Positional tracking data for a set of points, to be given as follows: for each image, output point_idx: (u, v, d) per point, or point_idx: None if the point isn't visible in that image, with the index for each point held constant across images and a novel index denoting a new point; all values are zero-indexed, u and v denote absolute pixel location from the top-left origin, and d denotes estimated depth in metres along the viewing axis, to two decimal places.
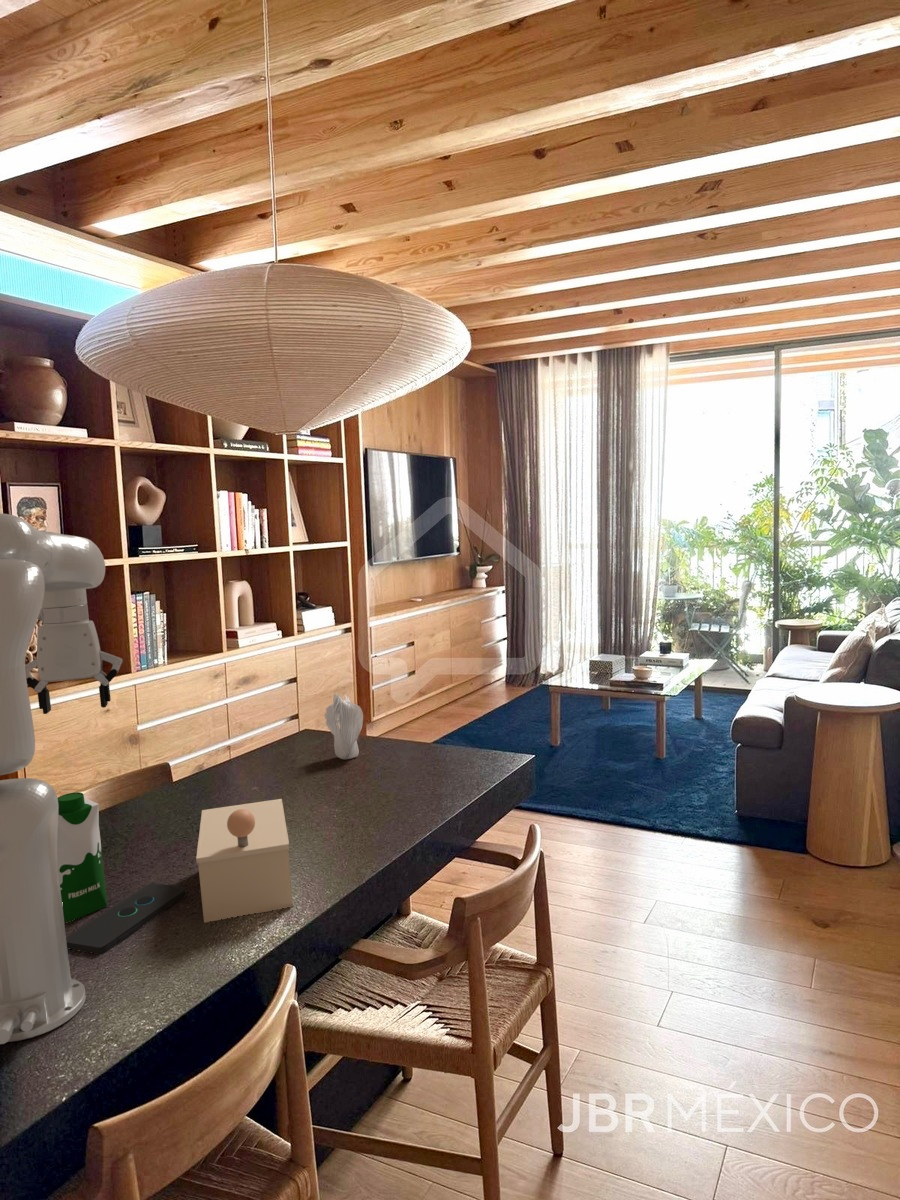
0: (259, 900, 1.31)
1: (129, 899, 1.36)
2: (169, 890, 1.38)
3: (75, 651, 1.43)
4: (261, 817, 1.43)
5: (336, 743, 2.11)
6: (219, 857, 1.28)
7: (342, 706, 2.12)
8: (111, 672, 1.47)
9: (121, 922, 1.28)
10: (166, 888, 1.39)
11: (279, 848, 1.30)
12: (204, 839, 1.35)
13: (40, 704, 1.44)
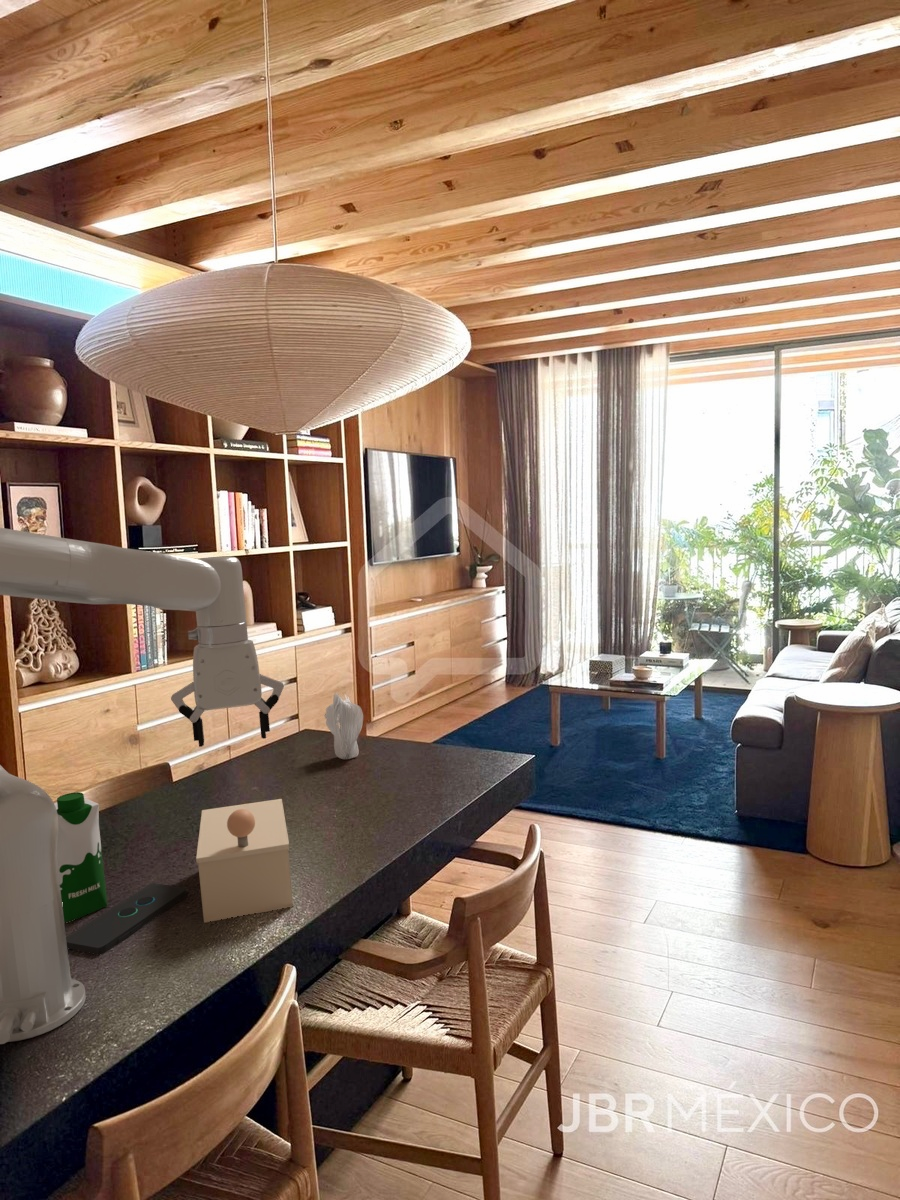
0: (259, 900, 1.31)
1: (130, 899, 1.36)
2: (170, 890, 1.38)
3: (235, 675, 1.26)
4: (261, 817, 1.43)
5: (336, 743, 2.11)
6: (219, 857, 1.28)
7: (342, 706, 2.12)
8: (272, 698, 1.30)
9: (121, 923, 1.28)
10: (167, 888, 1.39)
11: (279, 848, 1.30)
12: (204, 839, 1.35)
13: (195, 735, 1.27)
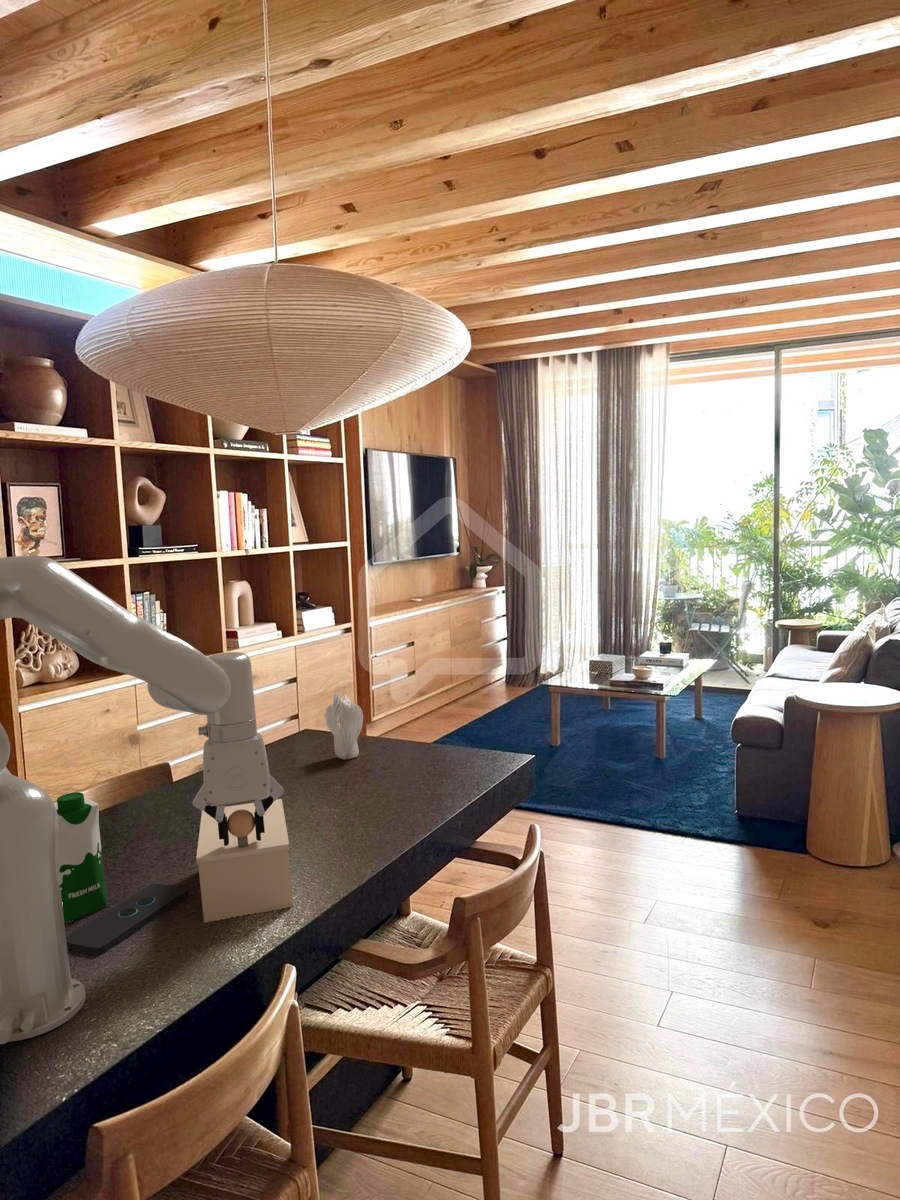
0: (259, 900, 1.31)
1: (130, 899, 1.36)
2: (170, 891, 1.38)
3: (245, 771, 1.27)
4: None
5: (336, 743, 2.11)
6: (219, 857, 1.28)
7: (342, 706, 2.12)
8: (267, 800, 1.31)
9: (120, 923, 1.28)
10: (167, 889, 1.39)
11: (279, 848, 1.30)
12: (204, 839, 1.35)
13: (220, 834, 1.29)
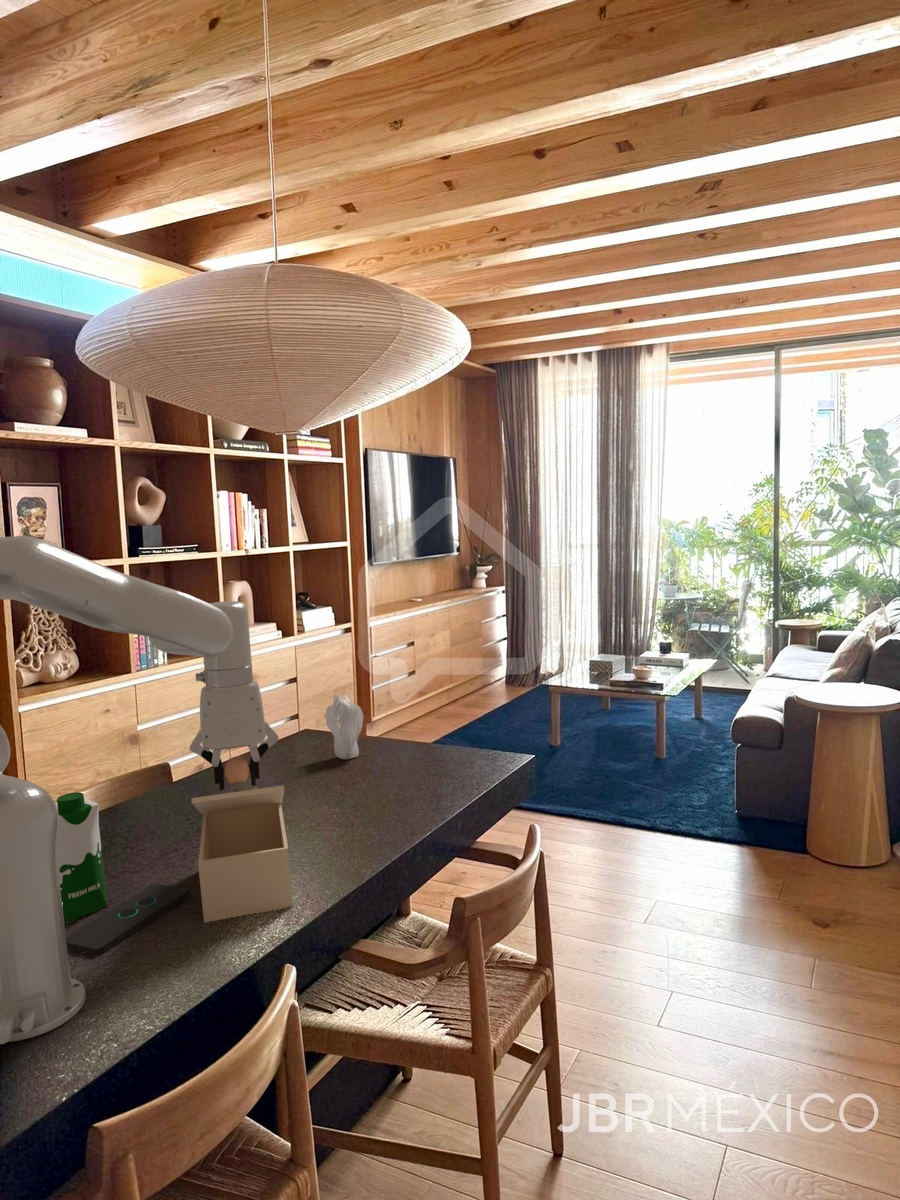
0: (259, 900, 1.31)
1: (131, 900, 1.36)
2: (171, 891, 1.38)
3: (241, 716, 1.30)
4: None
5: (336, 743, 2.11)
6: (214, 797, 1.29)
7: (342, 706, 2.12)
8: (262, 747, 1.34)
9: (120, 923, 1.28)
10: (168, 889, 1.39)
11: (274, 789, 1.31)
12: None
13: (216, 779, 1.32)
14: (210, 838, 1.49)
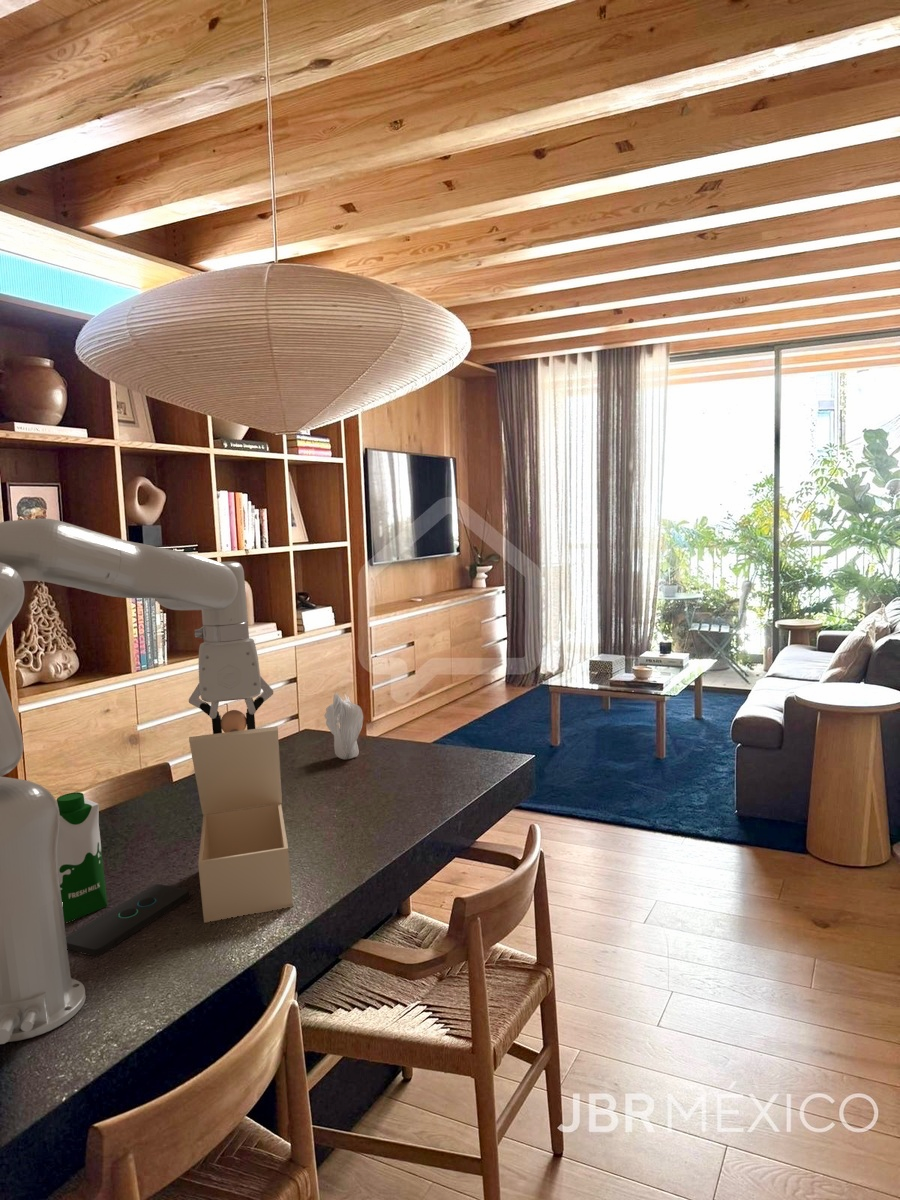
0: (259, 900, 1.31)
1: (132, 900, 1.36)
2: (172, 892, 1.38)
3: (237, 670, 1.37)
4: None
5: (336, 743, 2.11)
6: (211, 736, 1.35)
7: (342, 706, 2.12)
8: (258, 700, 1.41)
9: (120, 924, 1.27)
10: (169, 890, 1.39)
11: (268, 729, 1.37)
12: None
13: (214, 730, 1.39)
14: (210, 838, 1.49)
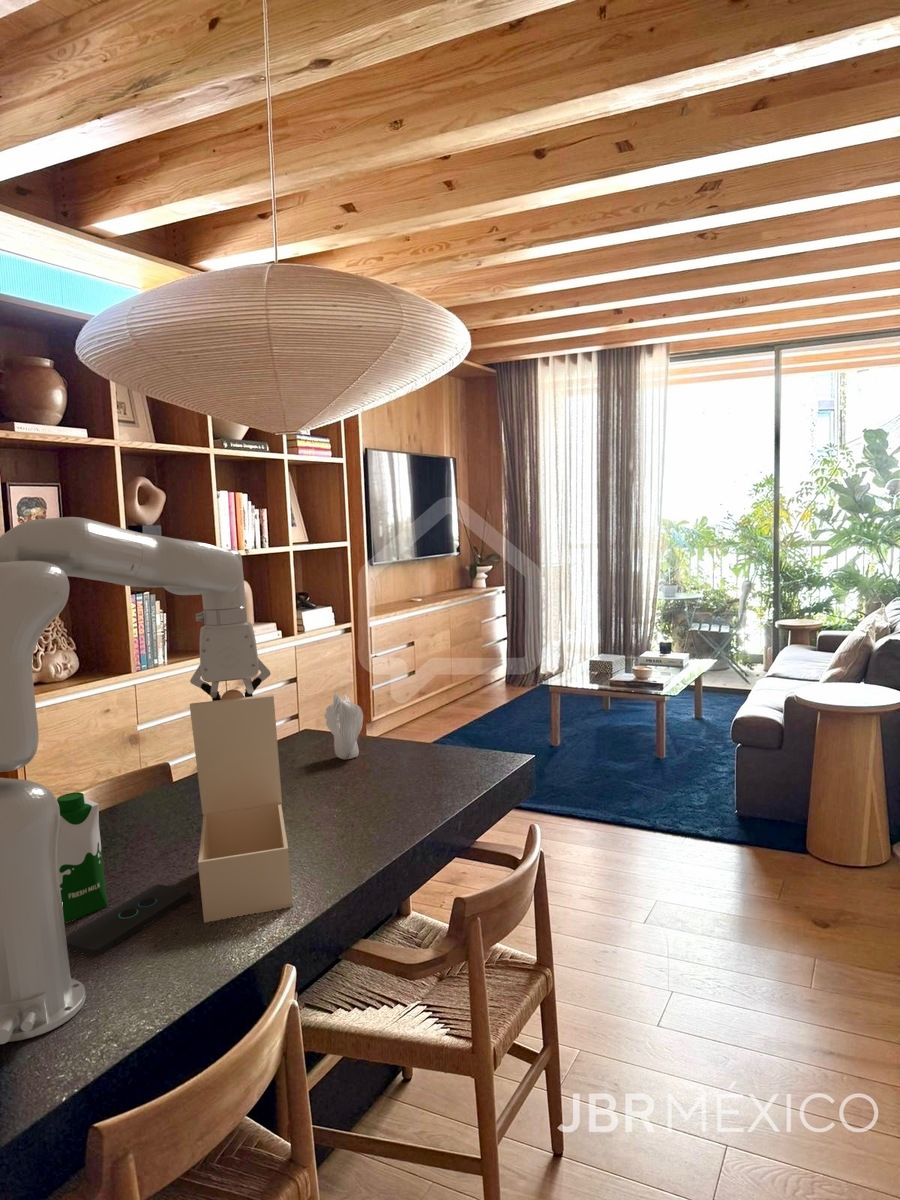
0: (259, 900, 1.31)
1: (132, 900, 1.35)
2: (173, 892, 1.37)
3: (236, 652, 1.45)
4: None
5: (336, 743, 2.11)
6: (210, 702, 1.42)
7: (342, 706, 2.12)
8: (256, 681, 1.49)
9: (120, 924, 1.27)
10: (170, 890, 1.38)
11: (264, 696, 1.44)
12: None
13: None
14: (210, 838, 1.49)
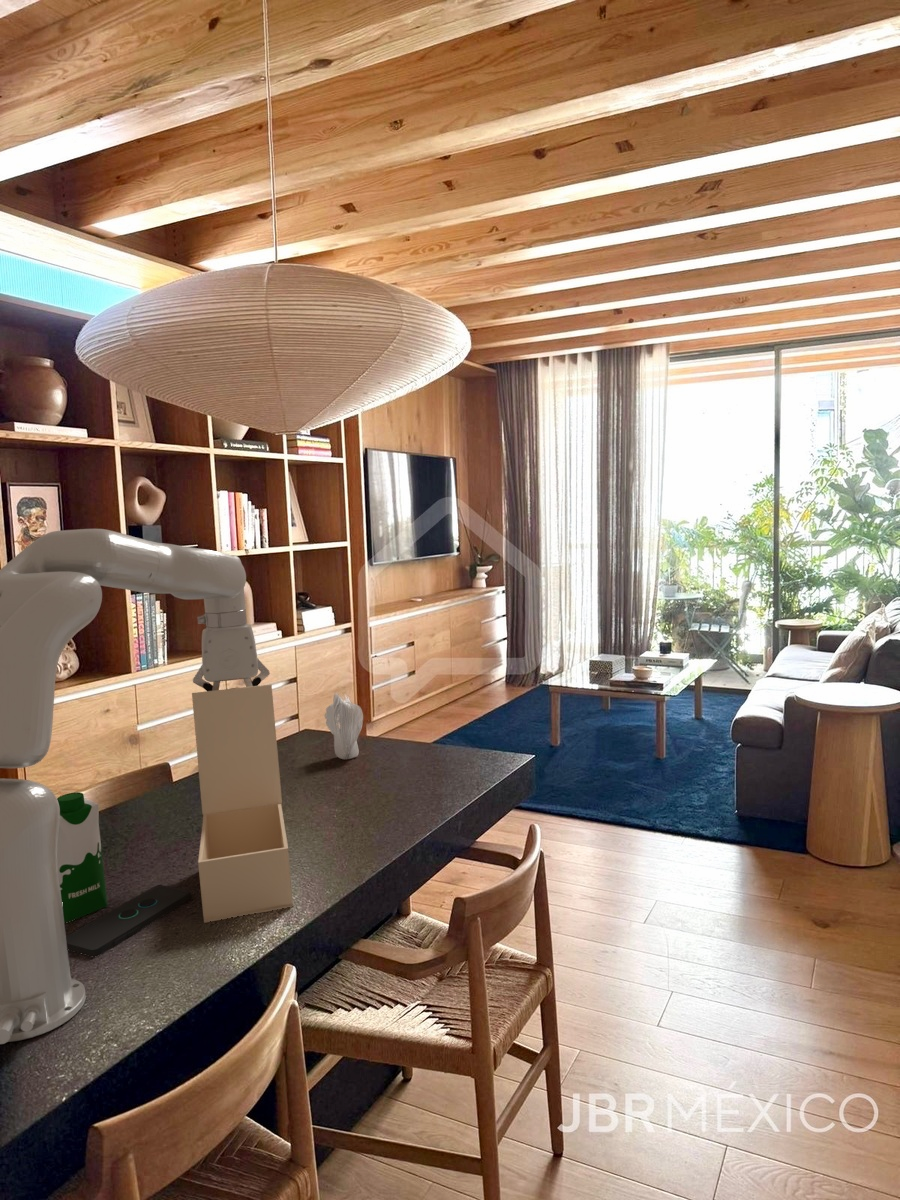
0: (259, 900, 1.31)
1: (133, 900, 1.35)
2: (173, 893, 1.37)
3: (236, 653, 1.53)
4: None
5: (336, 743, 2.11)
6: (211, 691, 1.50)
7: (342, 706, 2.12)
8: (256, 680, 1.56)
9: (119, 925, 1.27)
10: (171, 891, 1.38)
11: (263, 685, 1.52)
12: None
13: None
14: (210, 838, 1.49)
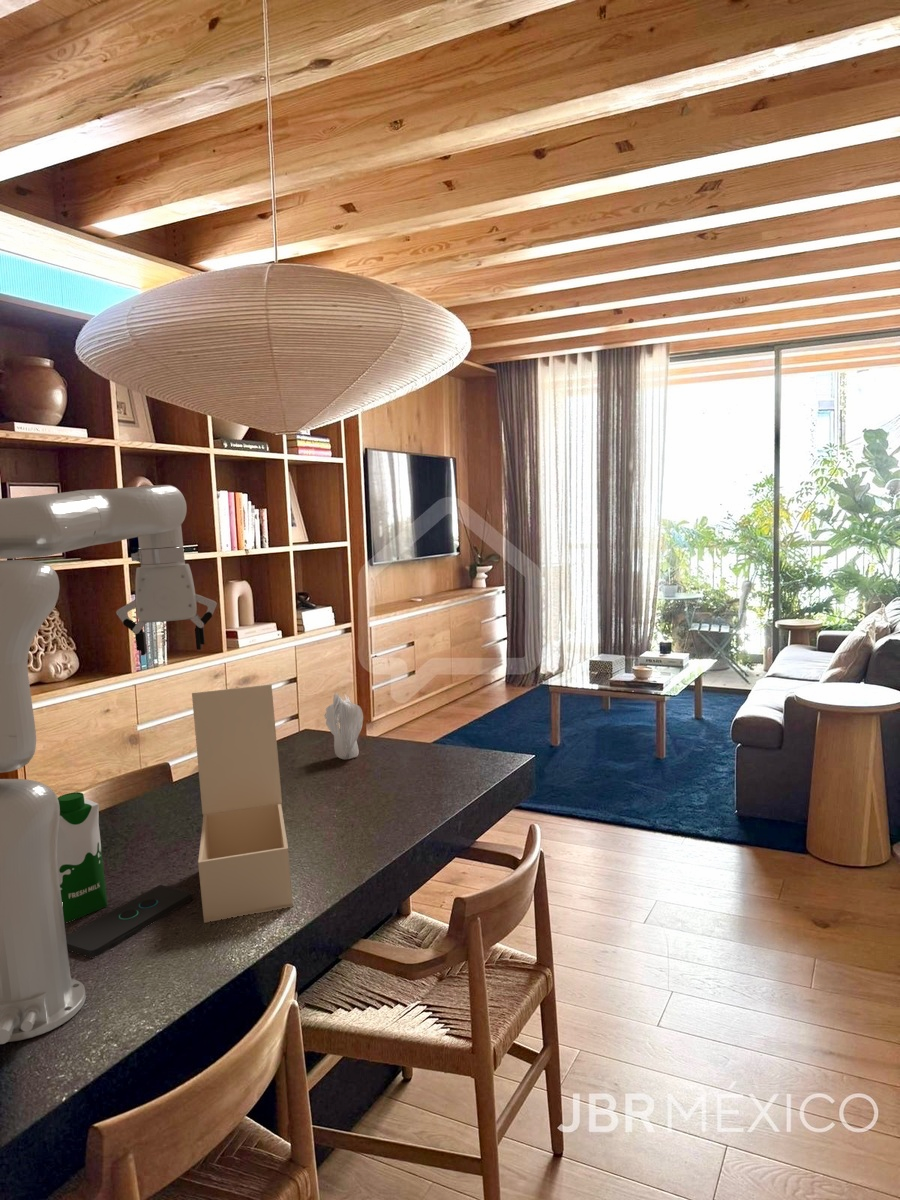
0: (259, 900, 1.31)
1: (134, 901, 1.35)
2: (174, 894, 1.37)
3: (172, 592, 1.44)
4: None
5: (336, 743, 2.11)
6: (211, 691, 1.50)
7: (342, 706, 2.12)
8: (206, 615, 1.48)
9: (119, 925, 1.27)
10: (172, 891, 1.38)
11: (262, 685, 1.52)
12: None
13: (137, 645, 1.45)
14: (210, 838, 1.49)
